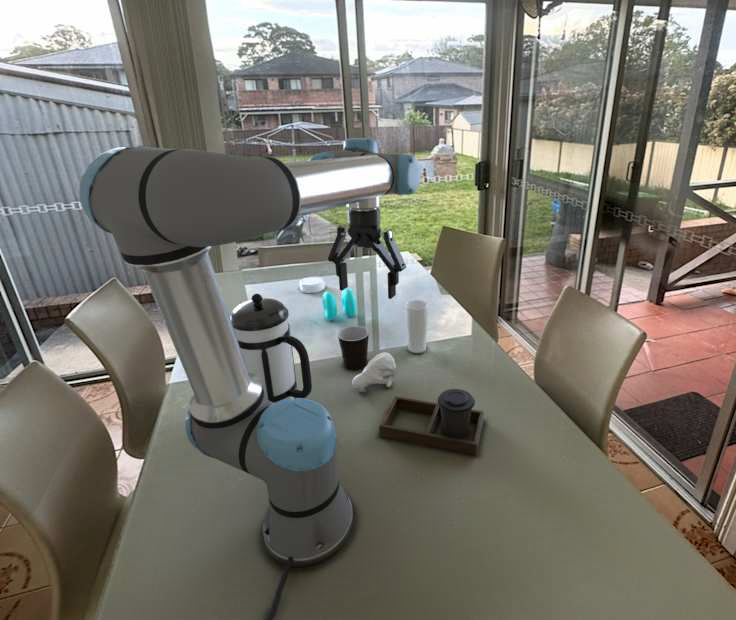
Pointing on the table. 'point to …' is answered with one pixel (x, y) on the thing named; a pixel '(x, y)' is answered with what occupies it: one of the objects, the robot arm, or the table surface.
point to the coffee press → (270, 347)
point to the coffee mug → (354, 346)
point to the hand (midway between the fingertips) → (367, 292)
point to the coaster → (312, 284)
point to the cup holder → (429, 427)
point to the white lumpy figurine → (376, 372)
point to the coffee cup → (455, 412)
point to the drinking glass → (416, 325)
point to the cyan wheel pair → (331, 306)
